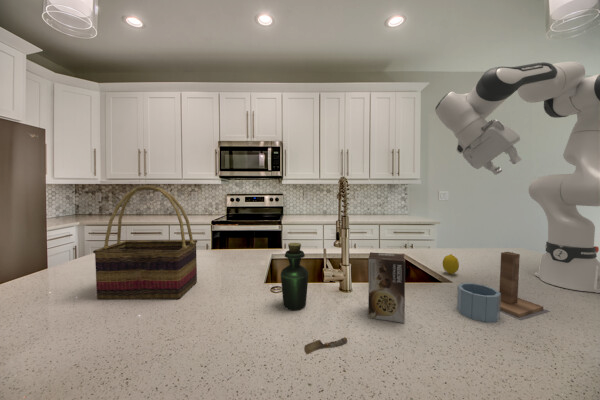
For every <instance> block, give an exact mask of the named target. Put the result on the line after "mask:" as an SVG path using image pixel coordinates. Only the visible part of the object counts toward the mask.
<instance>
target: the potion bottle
mask: <svg viewBox="0 0 600 400" xmlns="http://www.w3.org/2000/svg"><path fill="white" fill-rule="evenodd" d="M287 247H288V250H286V251H285V253H284V257H285V258H286V259H287V261H288V263H289V265H287V266H286V267H284V268H283V269H282V270H281V272H280V282H281V292H282V293H281V294H282V305H283V306H284V308H285V309H287V310H290V311H299V310H302V309H304V308H305V307H306V306H307V296H308V295H307V294H308V283H309V274H310V273H309V271H308V269H307V268H306V267H304V266H302V265H301V261H302V259H303V258H305V256H306V255H305V251H303V250H301V247H302V243H301V242H290V243H288V244H287Z"/></svg>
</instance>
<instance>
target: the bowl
mask: <svg viewBox="0 0 600 400" xmlns="http://www.w3.org/2000/svg"><path fill="white" fill-rule="evenodd" d="M500 302H501V293H500V292H498V290H497V289H496V288H494V287H490V286H487V285H485V284H481V283H480V284H479V283H474V282H461V283H459V284H458V285H457V293H456V310H457V311H458V312H459V314H460V315H463V316H464V317H466V318H468V319H471V320H473V321H478V322H482V323H498V321H499V320H500V319H501V312H500Z"/></svg>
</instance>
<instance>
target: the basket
mask: <svg viewBox="0 0 600 400" xmlns="http://www.w3.org/2000/svg"><path fill="white" fill-rule="evenodd" d="M141 191H153V192H159V193H160V194H161V195H163V196H164V197H165V198H166V199H167V200H168V201H169V202H170V204H171V206H172V207H173V209H174V210H175V213H176V214H175V215H176V216H177V220H178V223H179V227H180V239H181V240H179V239H178V240H177V239H176V240H175V239H173V240H123V241H121V238H122V237H121V234H122V222H123V220H122V219H123V216H124V214H125V210H126V206H127V205H128V203H129V202H130V200H131V198H132V197H133V196H134V195H136V193H137V192H141ZM120 208H121V210H120ZM119 210H120V212H119ZM180 211H181V213H180ZM118 212H119V216H118V219H117V221H118V222H117V237H116V238H117V239H116V243H112V244H110V245H109V240H110V235H111V231H112V225H113V221H114V219H115V217H116V216H117V213H118ZM181 214H182V216H183V218H184V221H185V223H186V228H187V233H188V237H189V239H186V237H185V230H184V229H185V228H184V223H183V220H182V216H181ZM197 243H198V239H193V234H192V229H191V224H190V220H189V218H188V215H187V213H186V211H185V209H184V208H183V206H182V205H181V204H180V203H179V202H178V200H177V199H176V197H174V195H172V194H170V193H169V192H167V191H166V190H164V189H163V188H161V187H158V186H155V185H145V184H144V185H139V186H136V187H134V188H133V189H132V190H130V191H129V192H127V193H126V194H125V195H124V196H123V198H121V200H120V201H119V202H118V203H117V204H116V206H115V208H114V210H113V212H112V214H111V216H110V218H109V220H108V224H107V229H106V232H105V239H104V245H103V247H100V248H98V249H94V250H93V251H92V253H93V254H94V260H95V261H94V262H95V278H96V279H95V283H96V298H97V300H180V299H181V298H182V297H183V296H184V295H185V294H186V293H187V292H188V291H190V290H191V288H193V287H194V286H195V285H196V284H197V282H198V270H197V268H198V267H197V266H198V265H197Z"/></svg>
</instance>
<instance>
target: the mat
mask: <svg viewBox="0 0 600 400" xmlns="http://www.w3.org/2000/svg"><path fill="white" fill-rule="evenodd" d="M550 312H551V311H550V310H547V309H545V308H543V310H542V311H539V312H536V313H533V314H529V315H526V316H523V317H520V318H518V317H516V316H513V315H511V314H508V313H506V312H504V311H501V310H500V313H502V314H504V315H507V316H508V317H511V318H514V319H516V320H518V321H524V320H527V319H530V318H533V317H536V316H540V315H543V314H547V313H550Z"/></svg>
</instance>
